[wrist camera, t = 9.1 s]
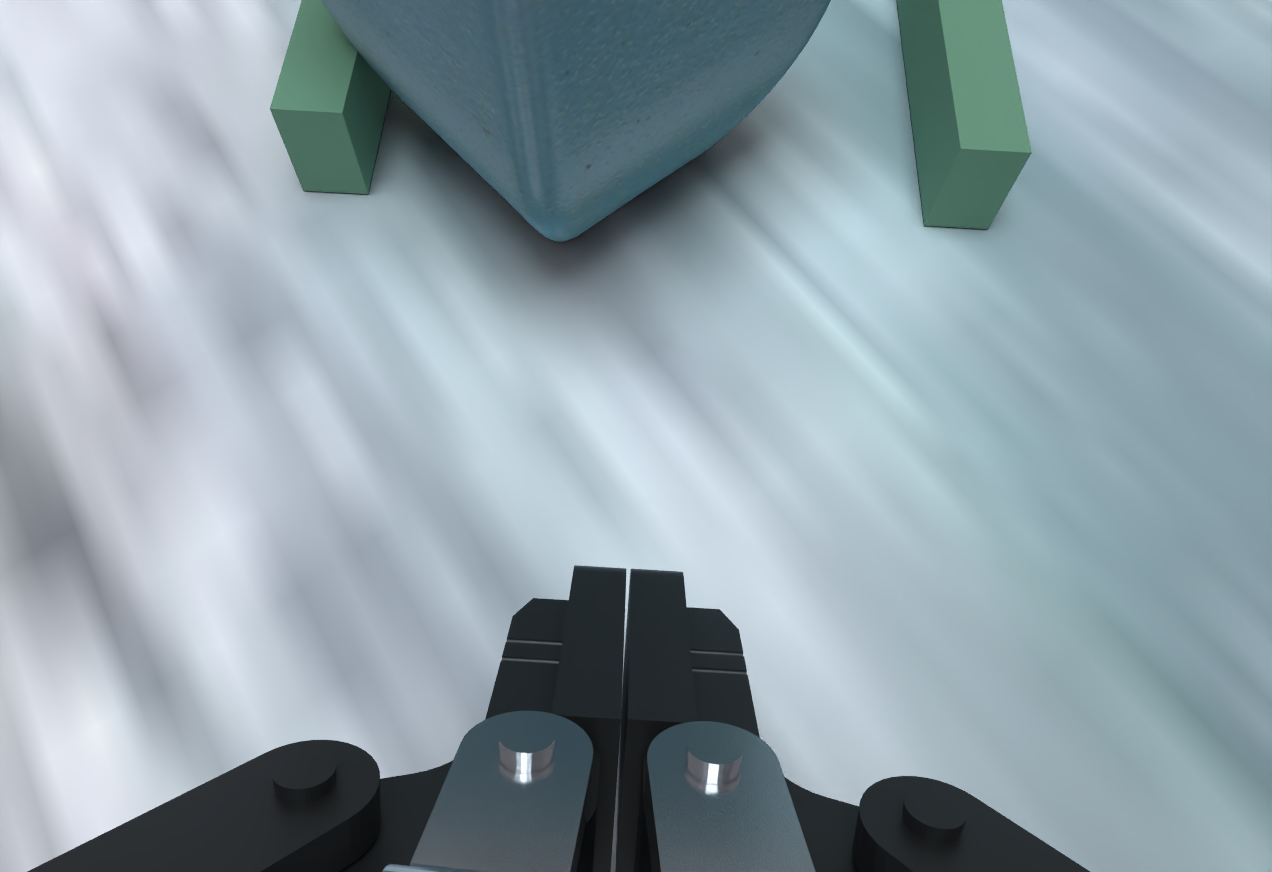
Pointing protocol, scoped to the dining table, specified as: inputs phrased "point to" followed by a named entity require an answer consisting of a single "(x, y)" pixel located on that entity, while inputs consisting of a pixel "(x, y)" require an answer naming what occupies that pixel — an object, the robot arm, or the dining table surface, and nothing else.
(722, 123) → the flower pot
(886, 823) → the robot arm
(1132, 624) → the dining table surface
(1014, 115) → the green u-shaped frame
